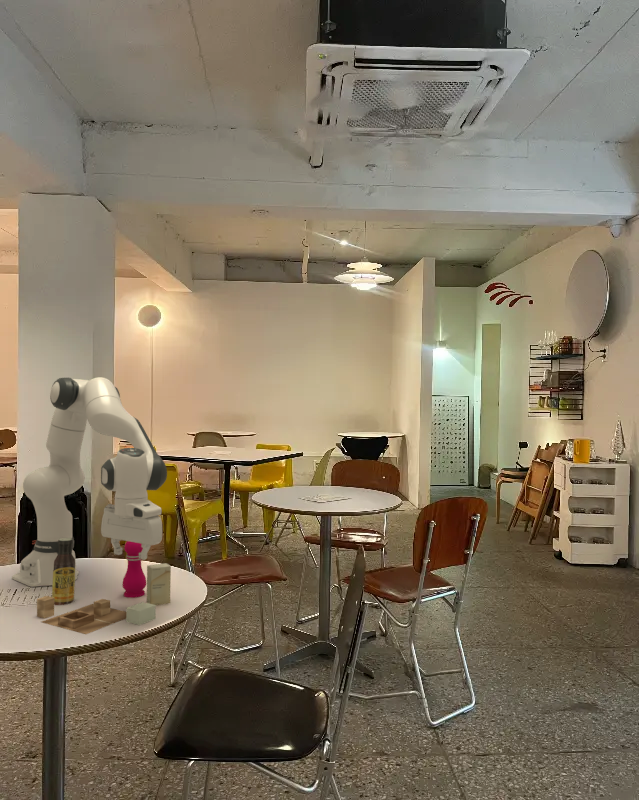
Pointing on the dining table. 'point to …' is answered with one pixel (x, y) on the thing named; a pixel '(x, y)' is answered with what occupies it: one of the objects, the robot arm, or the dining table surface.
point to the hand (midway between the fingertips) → (130, 556)
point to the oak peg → (45, 607)
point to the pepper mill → (134, 571)
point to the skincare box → (158, 584)
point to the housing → (140, 613)
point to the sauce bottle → (64, 573)
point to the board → (88, 617)
